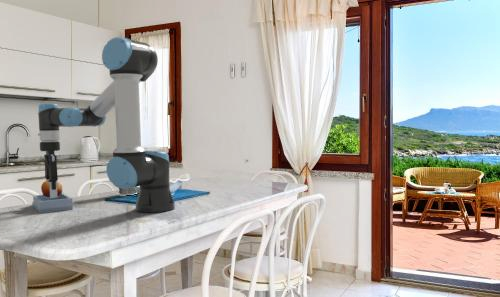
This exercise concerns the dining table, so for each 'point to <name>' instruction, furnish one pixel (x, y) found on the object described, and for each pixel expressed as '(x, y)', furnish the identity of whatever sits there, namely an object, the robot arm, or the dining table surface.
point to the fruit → (46, 189)
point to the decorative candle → (127, 191)
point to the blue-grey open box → (52, 203)
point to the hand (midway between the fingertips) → (51, 196)
